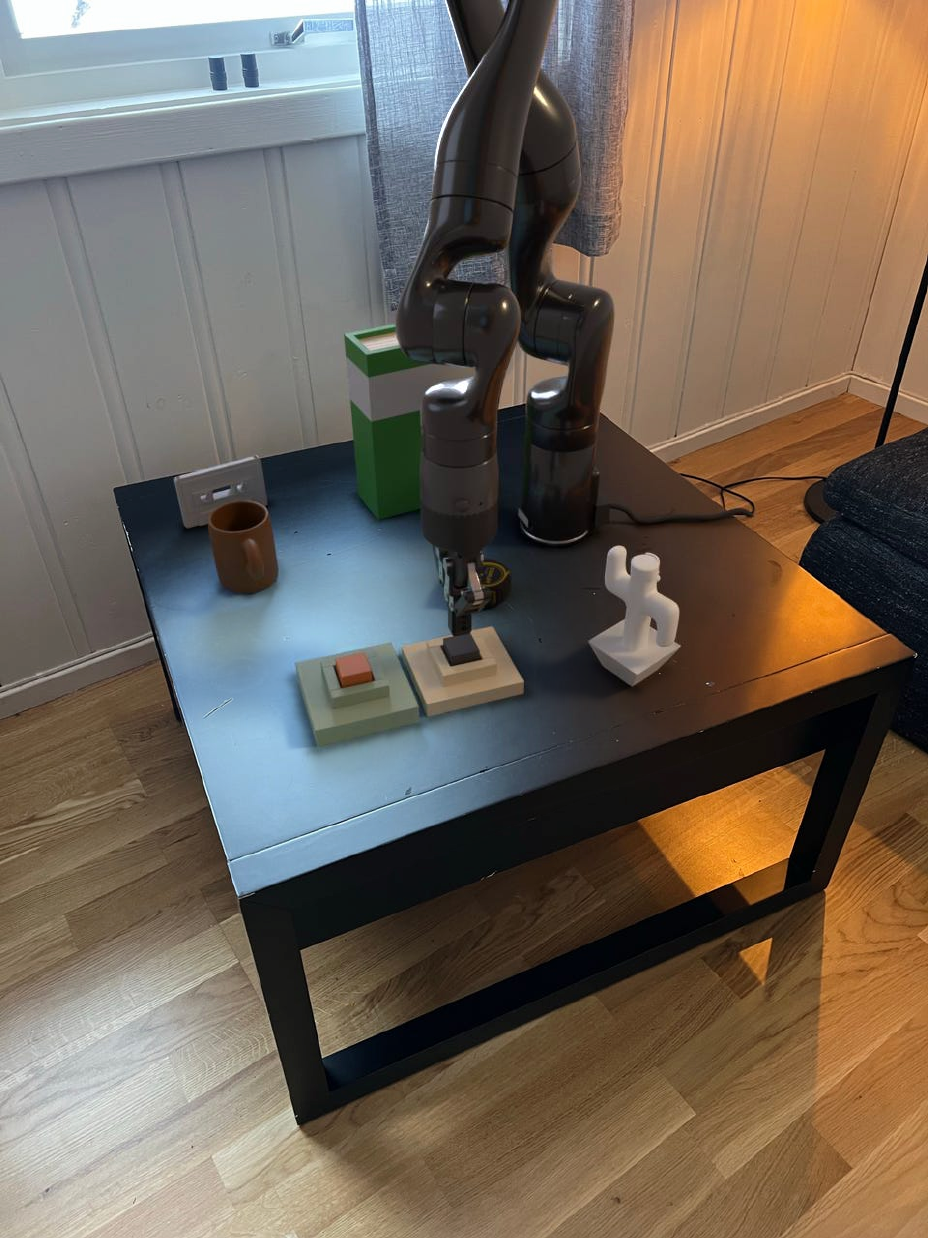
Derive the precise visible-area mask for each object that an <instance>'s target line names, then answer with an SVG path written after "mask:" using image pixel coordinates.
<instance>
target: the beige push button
mask: <svg viewBox="0 0 928 1238" xmlns="http://www.w3.org/2000/svg"><path fill="white" fill-rule="evenodd" d="M470 633H471V635H472V637H473V639H474V641H475V643H476V644H477V646H478V648H479V650H480V660H478V661H474V662H470V663H465V664H461V665H457V666H451V664H450V662H449V660H448V658H447V656H446V654H445V652H444V650H443V638H448V637H452V636H453V635H452V634H450V635H445V636H441V637H437V638H432V639H427V640H422V641H418V642H413V643H409V644H404V645H401V646H400V648H401V659H402V662H403V664H404V666H405V668H406V671H407V673H408V675H409V678H410V680H411V682H412V685H413V687H414V690H415V691H416V695H417V696H418V699H419V701H420V703H421V705H422V708H423V710H424V713H425V714H426V717H431V716H436V715H441V714H444V713H449V712H453V711H456V710H461V709H464V708H470V707H473V706H477V705H481V704H486V703H490V702H494V701H498V700H502V699H506V698H510V697H515V696H519V695H523V694H524V687H525V681H524V678H523V677H522V676H521V674H520V672H519V671H518V668H517V667H516V665H515V663H514V661H513V660H512V657H511V656H510V654H509V653H508V650H507V649H506V647H505V646H504V644H503V642H502V641H501V639H500V637H499V635H498V633H497V631H496V629H495V628H494V626H493V625H491V626H486V627H481V628H477V629H472V630H471V632H470Z"/></svg>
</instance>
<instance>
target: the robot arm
mask: <svg viewBox="0 0 928 1238" xmlns="http://www.w3.org/2000/svg"><path fill="white" fill-rule="evenodd" d="M444 1H445V5H446V8H447V12H448V15H449V18H450V21H451V24H452V28H453V30H454V35H455V37H456V41H457V44H458V48H459V51H460V55H461V57H462V61H463V64H464V68H465V72H466V77H467V81H466V83H465V85H464V86H463V88H462V90H461V91H460V93H459V94H458V95H457V97H456V99H455V101H453V102H454V103H452V106H451V108H450V109H449V111H448V113H447V116H446V118H445V120H444V122H443V124H442V127H441V131H440V133H439V137H438V141H437V144H436V150H435V156H434V165H433V172H432V173H433V174H432V181H431V182H432V183H431V191H430V200H429V202H430V203H429V209H428V216H427V221H426V226H425V229H424V233H423V235H422V238H421V242H420V244H419V249H418V251H417V254H416V257H415V260H414V262H413V266H412V268H411V270H410V273H409V275H408V277H407V280H406V282H405V285H404V288H403V290H402V292H401V295H400V298H399V301H398V304H397V308H396V312H395V317H394V318H395V319H394V324H395V331H396V337H397V340H398V343H399V345H400V348H401V349H402V351H403V353H404V354H405V355H406V356H407V357H408V358H410V359H411V360H413V361H416V362H419V363H426V364H437V365H448V366H457V367H466V368H468V367H469V368H473V369H475V375H474V376H472V377H469V378H465V379H459V380H452V381H446V382H442V383H439V384H436V385H434V386H432V387H430V388H429V389H427V390H426V392H425V393H424V394H423V396H422V399H421V405H420V424H421V462H420V506H421V508H420V530H421V534H422V536H423V538H424V540H425V541H426V542H427V543H428V544H430V545H432V551H433V555H434V556H433V557H434V560H435V565H436V570H437V575H438V583H439V585H440V587H441V588H443V591H444V593H443V598H444V599H445V601H446V602H447V627H448V630H449V631H450V633H451V635H453V636H461V635H465V634H469V633H470V632H471V631H472V630H473V629H472V625H473V623H472V620H473V619H472V618H473V614H476V613H480V612H482V610H483V609H484V608H486V607H485V605H486V604H487V603H488V602H489V600H490V599H491V591H490V589H489V588H488V587H487V588H485V587H484V586H482V587H481V585H480V581H481V571H482V569H483V567H484V559H485V557H484V554H483V551H482V550H483V549H484V548H485V547H486V546H487V545H488V544H490V543H491V542H492V541H493V540H494V539H495V538H496V535H497V533H498V520H499V519H498V517H499V480H500V479H499V478H500V477H499V476H500V475H499V473H500V472H499V471H500V469H499V462H498V461H499V460H498V452H497V450H498V418H499V417H498V415H499V407H500V406H499V405H500V399H501V395H502V390H503V387H504V382H505V379H506V375H507V373H508V369H509V366H510V363H511V361H512V358H513V355H514V352H515V349H516V346H517V344H518V346H519V348H520V349H521V351H522V352H523V353H525V355H528V356H530V357H533V358H535V359H538V360H541V361H545V362H550V363H554V364H558V365H561V366H565V367H567V374H566V375H565V376H557V377H550V378H547V379H544V380H541V381H538V382H537V383H535V384H534V385H532V386H531V387H530V388H529V390H528V391H527V394H526V398H525V418H524V419H525V420H524V441H523V442H524V443H523V464H522V465H523V466H522V488H521V489H522V490H521V491H522V492H521V508H518V514H517V515H518V517H519V519H520V521H519V529H520V532H521V534H522V535H523V536H524V537H525V538H526V539H527V540H528V541H530V542H532V543H535V544H537V545H540V546H544V547H549V548H563V547H571V546H574V545H576V544H578V543H580V542H582V541H583V540H585V539H586V538H587V536H591V535H594V534H595V528H596V526H599V525H604V524H609V523H610V512H611V509H612V510H617V511H620V512H622V513H624V514H626V515H627V516H628V518H629V519H630V520H631V521H632V522H634V523H637V524H640V525H653V524H658V523H659V524H660V523H664V522H665V523H666V522H670V521H698V522H699V521H705V522H707V521H716V520H717V521H718V520H722V519H725V518H728V517H730V516H735V515H744V516H745V517H746V518H749V519H750V518H751V519H752V518H754V517H755V516H754V514H753V513H752V511H750V510H749V509H747V508H744V507H735V508H731V509H730V508H729V509H727V510H725V511H721V512H717V513H711V514H689V513H687V514H685V513H679V514H678V513H677V514H676V513H674V514H665V515H659V516H654V517H640V516H637V515H636V514H635V513H634V511H633V510H632V509H631V508H630V507H628V506H626V505H624V504H621V503H616V502H612V501H610V500H608V498H607V497H606V496H605V495H604V493H602V491H601V490H600V481H601V480H600V479H601V472H600V470H599V469H598V468H597V467H596V466H595V465H596V455H597V444H598V434H599V423H600V422H599V421H600V413H601V405H602V400H603V398H604V397H603V396H604V392H605V387H606V381H607V375H608V374H607V373H608V366H609V359H610V352H611V347H612V339H613V334H614V326H615V313H616V312H615V303H614V299H613V297H612V295H611V293H610V292H609V291H607V290H606V289H604V288H600V287H597V286H591V285H587V284H583V283H578V282H572V281H569V280H563V279H558V278H557V276H555V274H554V273H553V270H552V265H551V254H550V253H551V247H552V246H553V243H554V241H555V239H556V237H557V235H558V233H559V232H560V231H561V229H562V228H563V226H564V224H565V223H566V221H567V220H568V217H569V216H570V214H571V212H572V210H573V209H574V206H575V204H576V202H577V200H578V197H579V193H580V190H581V186H582V170H581V169H582V168H581V161H580V151H579V142H578V134H577V128H576V127H577V126H576V121H575V117H574V115H573V112H572V110H571V108H570V106H569V104H568V102H567V100H566V99H565V97H564V95H563V94H562V93H561V91H560V90H559V88H558V87H557V86H556V84H555V82H553V81H552V79H551V78H550V77H549V75H548V74H547V73H546V71H544V69H543V68H542V64H543V63H542V62H543V60H544V55H545V52H546V48H547V44H548V41H549V36H550V33H551V29H552V24H553V21H554V16H555V12H556V9H557V4H558V0H508V2H507V4H506V5H507V6H506V9H505V8H504V5H503V2H502V0H444ZM502 251H503V252H504V257H505V263H506V271H507V281H508V286H506V285H504V284H501V283H497V282H489V281H476V280H463V279H451V278H449V277H450V276H451V274H452V272H453V271H454V270H455V269H456V268H457V266H458V265H459V264H460V263H462V262H464V261H467V260H470V259H473V258H479V257H480V258H481V257H486V256H492V255H494V254H499V253H500V252H502Z"/></svg>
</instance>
